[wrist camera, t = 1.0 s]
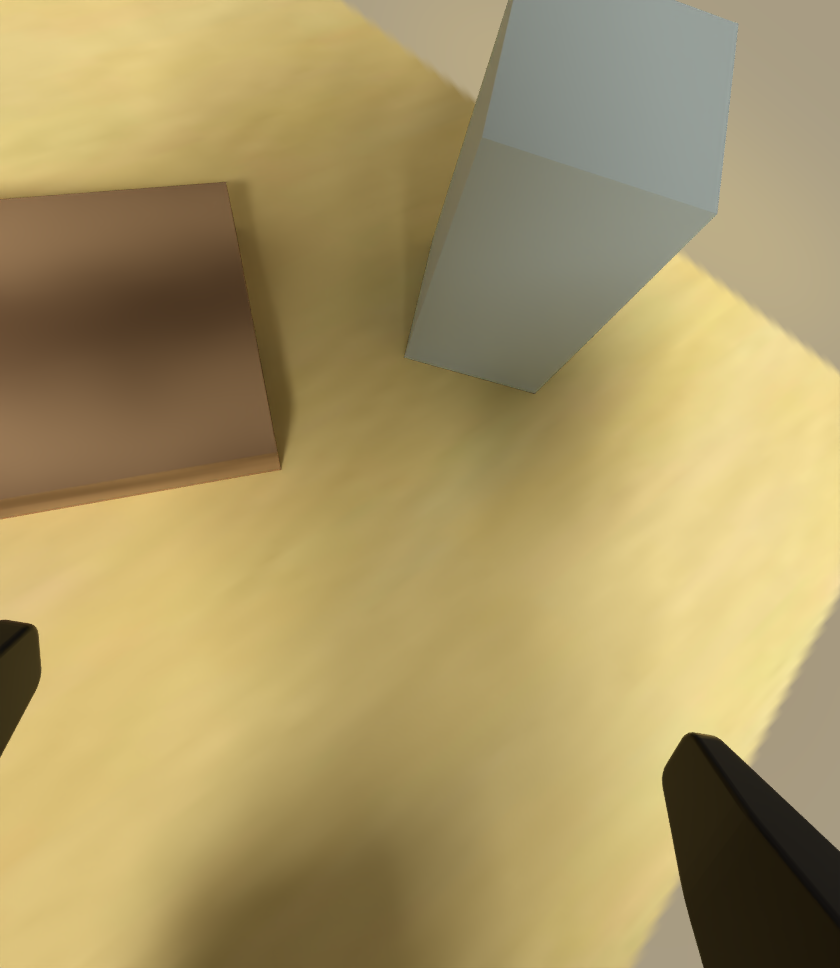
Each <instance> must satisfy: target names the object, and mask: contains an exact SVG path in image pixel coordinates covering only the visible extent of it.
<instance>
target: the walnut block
mask: <svg viewBox="0 0 840 968" xmlns="http://www.w3.org/2000/svg"><path fill="white" fill-rule="evenodd" d="M276 470H281V467H280V462H279V456H278V451H277V446H276V440H275V435H274V430H273V425H272V419H271V414H270V409H269V404H268V398H267V393H266V388H265V382H264V377H263V372H262V367H261V361H260V356H259V351H258V345H257V340H256V335H255V330H254V324H253V319H252V314H251V309H250V303H249V298H248V293H247V287H246V282H245V277H244V272H243V266H242V261H241V256H240V251H239V245H238V240H237V235H236V229H235V224H234V219H233V215H232V210H231V205H230V200H229V195H228V190H227V185H226V182H220V183H207V184H194V185H181V186H168V187H155V188H142V189H129V190H116V191H103V192H90V193H77V194H64V195H51V196H38V197H25V198H12V199H0V519H5V518H11V517H17V516H22V515H28V514H33V513H39V512H45V511H50V510H56V509H62V508H67V507H73V506H79V505H84V504H90V503H95V502H101V501H107V500H112V499H118V498H124V497H129V496H135V495H141V494H146V493H152V492H157V491H163V490H169V489H174V488H180V487H186V486H191V485H197V484H203V483H208V482H214V481H219V480H225V479H231V478H236V477H242V476H248V475H253V474H259V473H265V472H270V471H276Z"/></svg>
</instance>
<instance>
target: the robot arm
mask: <svg viewBox="0 0 840 968" xmlns="http://www.w3.org/2000/svg"><path fill="white" fill-rule="evenodd" d="M40 677H41V659H40V647H39V635H38V630H37V628H36V627H35V626H34V625H32V624H29V623H23V622H17V621H10V620H0V757H1V755H2V753H3V751H4V749H5V748H6V746H7V744H8V742H9V740H10V738H11V736H12V734H13V732H14V731H15V729H16V727H17V725H18V723H19V721H20V719H21V717H22V716H23V714H24V712H25V710H26V708H27V706H28V704H29V702H30V700H31V699H32V697H33V695H34V693H35V691H36V689H37V687H38V684H39V681H40ZM662 785H663V791H664V797H665V802H666V807H667V812H668V818H669V823H670V828H671V834H672V839H673V844H674V849H675V855H676V860H677V865H678V871H679V876H680V881H681V885H682V890H683V894H684V899H685V903H686V907H687V910H688V914H689V918H690V922H691V925H692V929H693V932H694V936H695V939H696V943H697V946H698V950H699V953H700V956H701V960H702V964H703V967H704V968H840V851H839V850H838V849H836V847H834V846H833V845H832V844H831V843H830V842H829V841H828V840H827V839H826V838H825V837H824V836H823V835H821V834H820V833H819V832H818V831H817V830H816V829H815V828H814V827H813V826H812V825H811V824H810V823H809V822H808V821H807V820H806V819H804V817H803V816H801V815H800V814H799V813H798V812H797V811H796V810H795V809H794V808H793V807H792V806H791V805H790V804H789V803H788V802H787V801H785V800H784V799H783V798H782V797H781V796H780V795H779V794H778V793H777V792H776V791H775V790H774V789H773V788H772V787H771V786H770V785H768V784H767V783H766V782H765V781H764V780H763V779H762V778H761V777H760V776H759V775H758V774H757V773H756V772H755V771H754V770H753V769H751V768H750V767H749V766H748V765H747V764H746V763H745V762H744V761H743V760H742V759H741V758H740V757H739V756H738V755H737V754H736V753H734V752H733V751H732V750H731V749H730V748H729V747H728V746H727V745H726V744H725V743H724V742H723V741H722V740H720V739H719V738H717V737H715V736H712V735H706V734H700V733H694V732H690V733H688V734H686V735H684V737H683V738H682V739H681V741H680V743H679V744H678V746H677V748H676V749H675V751H674V752H673V754H672V756H671V757H670V759H669V761H668V762H667V764H666V766H665V768H664V771H663V776H662Z"/></svg>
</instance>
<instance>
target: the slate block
mask: <svg viewBox="0 0 840 968" xmlns="http://www.w3.org/2000/svg"><path fill="white" fill-rule="evenodd" d="M737 32H738V24H737V23H735V22H732V21H729V20H726V19H724V18H721V17H718V16H716V15H713V14H710V13H708V12H705V11H702V10H699V9H697V8H694V7H691V6H689V5H686V4H683V3H680V2H678V1H675V0H508V3H507V6H506V10H505V13H504V16H503V19H502V22H501V25H500V29H499V32H498V35H497V38H496V41H495V44H494V47H493V51H492V54H491V57H490V60H489V63H488V66H487V70H486V73H485V76H484V79H483V82H482V85H481V88H480V91H479V95H478V98H477V101H476V104H475V107H474V110H473V114H472V117H471V120H470V123H469V126H468V129H467V132H466V136H465V139H464V142H463V145H462V148H461V151H460V154H459V158H458V161H457V164H456V167H455V170H454V173H453V177H452V180H451V183H450V186H449V189H448V192H447V195H446V199H445V202H444V205H443V208H442V211H441V214H440V217H439V221H438V224H437V227H436V230H435V233H434V236H433V240H432V244H431V248H430V252H429V256H428V260H427V265H426V269H425V273H424V277H423V281H422V285H421V290H420V294H419V298H418V302H417V306H416V310H415V314H414V319H413V323H412V327H411V331H410V335H409V339H408V344H407V348H406V352H405V356H404V358H408V359H412V360H415V361H419V362H423V363H426V364H430V365H433V366H437V367H441V368H444V369H448V370H451V371H455V372H459V373H462V374H466V375H470V376H473V377H477V378H480V379H484V380H488V381H491V382H495V383H498V384H502V385H506V386H509V387H513V388H516V389H520V390H524V391H527V392H531V393H536V392H537V391H538V390H539V389H540V388H541V387H542V386H543V385H544V384H545V383H546V382H547V381H548V380H549V379H550V378H551V377H552V376H553V375H554V374H555V373H556V372H557V371H558V370H559V369H560V368H561V367H562V366H563V365H564V364H565V363H566V362H567V361H568V360H569V359H570V358H571V357H572V356H573V355H575V354H576V353H577V352H578V351H579V350H580V349H581V348H582V347H583V346H584V345H585V344H586V343H587V342H588V341H589V340H590V339H591V338H592V337H593V336H594V335H595V334H596V333H597V332H598V331H599V330H600V329H601V328H602V327H603V326H604V325H605V324H606V323H607V322H608V321H609V320H610V319H611V318H612V317H613V316H614V315H615V314H616V313H617V312H618V311H619V310H620V309H621V308H622V307H623V306H624V305H625V304H626V303H627V302H628V301H629V300H630V299H631V298H632V297H633V296H634V295H635V294H636V293H637V292H638V291H639V290H641V289H642V288H643V287H644V286H645V285H646V284H647V283H648V282H649V281H650V280H651V279H652V278H653V277H654V276H655V275H656V274H657V273H658V272H659V271H660V270H661V269H662V268H663V267H664V266H665V265H666V264H667V263H668V262H669V261H670V260H671V259H672V258H673V257H674V256H675V255H676V254H677V253H678V252H679V251H680V250H681V249H682V248H683V247H684V246H685V245H686V244H687V243H688V242H689V241H690V240H691V239H692V238H693V237H694V236H695V235H696V234H697V233H698V232H699V231H700V230H701V229H702V228H703V227H704V226H705V225H706V224H708V222H710V221H711V219H713V217H715V216H716V215H717V211H718V202H719V192H720V184H721V175H722V166H723V157H724V148H725V139H726V131H727V122H728V113H729V104H730V94H731V86H732V77H733V68H734V59H735V50H736V40H737Z"/></svg>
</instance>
